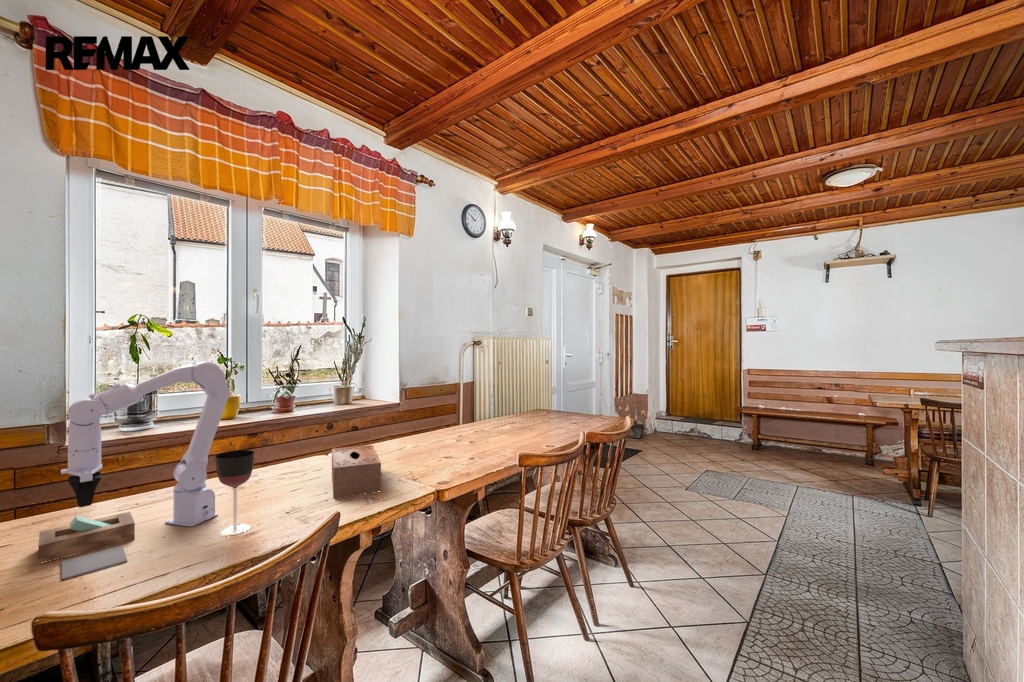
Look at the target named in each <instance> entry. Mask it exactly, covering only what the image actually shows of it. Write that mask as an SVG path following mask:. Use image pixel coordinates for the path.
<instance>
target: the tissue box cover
mask: <svg viewBox="0 0 1024 682" xmlns="http://www.w3.org/2000/svg"><path fill="white" fill-rule="evenodd" d="M381 462H382V461H381V460H380V458H379V455H378V454H377V452H376V449H375V447H374V445H373V444H368V445H359V446H358V445H357V446H347V447H346V446H345V447H337V448H332V449H331V481H332V483H331V485H332V484H333V485H332V497H333V499H334V498H335V499H340V498H339V497H342V498H346V497H345V496H349V497H353V496H352V495H356V496H360V495H359V494H363V495H365V494H364V493H370V494H373V493H372V492H377V493H379V492H378V491H381V492H382V485H381V484H382V463H381Z"/></svg>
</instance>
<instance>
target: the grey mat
mask: <svg viewBox="0 0 1024 682" xmlns="http://www.w3.org/2000/svg"><path fill="white" fill-rule="evenodd" d="M126 555H127V554H126V553H125V549H124V547H123V545H118V546H115V547H111V548H107V549H103V550H100V551H96V552H93V553H89V554H84V555H81V556H77V557H74V558H70V559H65V560H62V561H61V580H62V579H66V580H68V579H67V578H69V579H71V578H70V577H73V578H75V577H74V576H76V577H79V576H78V575H80V576H83V575H86V573H87V574H89V573H93V572H96V571H97V572H98V571H100V570H104V569H107V568H111V567H114V566H117V565H120V564H121V565H122V564H124V563H128V560H127V556H126ZM82 574H83V575H82Z"/></svg>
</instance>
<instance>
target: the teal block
mask: <svg viewBox="0 0 1024 682" xmlns="http://www.w3.org/2000/svg"><path fill="white" fill-rule="evenodd" d="M69 525H70V529H73V530H77V531H81V532H83V531H87V530H92V529H96V528H100V527H104V526H109V525H112V524H108V523H104V522H100V521H96V520H95V519H92V518H88V517H84V516H80V515H75V516H74V518H73V519H72V520H71V522H70V523H69Z"/></svg>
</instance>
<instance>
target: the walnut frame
mask: <svg viewBox="0 0 1024 682" xmlns="http://www.w3.org/2000/svg"><path fill="white" fill-rule="evenodd" d="M94 520H96V521H100V522H104V523H108V524H112V525H109V526H104V527H100V528H96V529H92V530H87V531H83V532H81V531H77V530H73V529H70V524H68V525H64V526H59V527H55V528H50V529H46V530H42V531H39V535H38V554H37V555H38V561H37V563H38V565H40V564H39V563H42V562H45V561H49V560H54V559H57V558H61V557H65V556H69V555H73V556H75V555H74V554H77V555H79V554H78V553H81V554H85V553H87V552H91V551H95V550H99V549H103V547H104V548H106V546H108V547H110V546H115V545H119V544H122V542H123V543H126V542H130V540H131V541H133V540H134V539H136V537H135V535H136V534H135V533H136V529H135V527H136V524H135V520H134V518H133V515H132V513H131V511H128V512H122V513H118V514H114V515H109V516H104V517H100V518H95V519H94ZM114 544H115V545H114ZM84 552H85V553H84ZM69 557H70V556H69ZM65 558H66V557H65ZM61 559H62V558H61ZM54 561H55V560H54ZM42 564H43V563H42Z"/></svg>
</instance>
